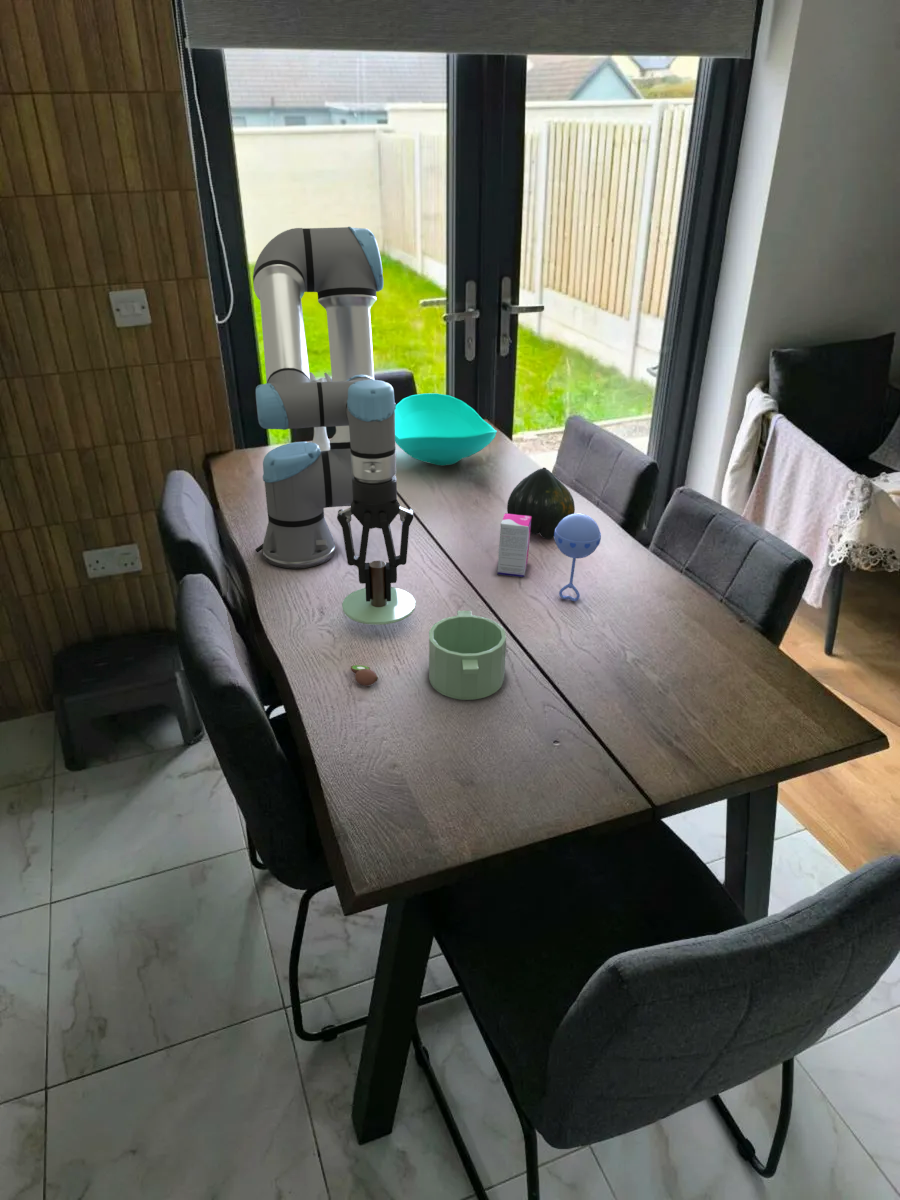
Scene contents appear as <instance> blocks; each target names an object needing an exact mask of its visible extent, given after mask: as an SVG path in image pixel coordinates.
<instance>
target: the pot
mask: <svg viewBox="0 0 900 1200" xmlns="http://www.w3.org/2000/svg"><path fill="white" fill-rule="evenodd" d="M506 653H507V634H506V630H505V629H504V628H503V627H502V626H501V624H499V622H496V621H494V620H493V619H490V618H488V617H484V616H479V615H474V614H472V610H457V611H456V615H453V616H448V617H445V618H443V619H441V620H439V621H437V622H435V623H434V624H433V625H432V627H430V629H429V631H428V675H429V676H428V680H429V683H430V685H431V686H432V688H433V689H434V690H435V691H436V692H438V693H439V694H441V695H443V696H445V697H448V698H451V699H455V700H462V701H474V700H480V699H485V698H487V697H490V696H491V695H493V694H495V693H497V692H498V691H499V690H500V689H501V688H502V686H503V684H504V680H505V674H506V673H505V669H506Z"/></svg>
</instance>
